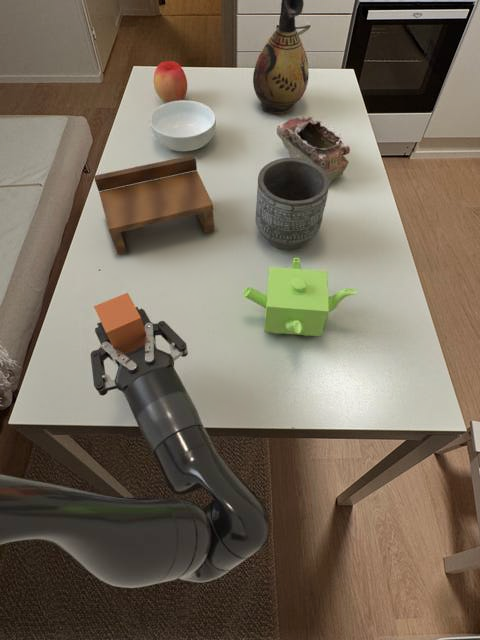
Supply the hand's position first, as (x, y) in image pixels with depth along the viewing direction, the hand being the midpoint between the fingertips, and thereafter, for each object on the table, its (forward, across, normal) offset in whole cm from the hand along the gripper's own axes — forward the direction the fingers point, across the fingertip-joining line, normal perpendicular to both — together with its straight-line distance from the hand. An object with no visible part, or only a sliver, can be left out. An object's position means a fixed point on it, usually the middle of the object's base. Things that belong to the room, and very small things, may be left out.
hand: (118, 318), depth 62 cm
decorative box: (+32, -59, +15) cm, 69 cm away
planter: (+14, -42, +15) cm, 47 cm away
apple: (+77, -43, +15) cm, 89 cm away
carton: (-3, 0, +7) cm, 7 cm away
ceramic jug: (+60, -69, +15) cm, 93 cm away
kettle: (-6, -30, +15) cm, 34 cm away
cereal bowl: (+57, -37, +15) cm, 69 cm away
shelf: (+30, -18, +15) cm, 39 cm away
